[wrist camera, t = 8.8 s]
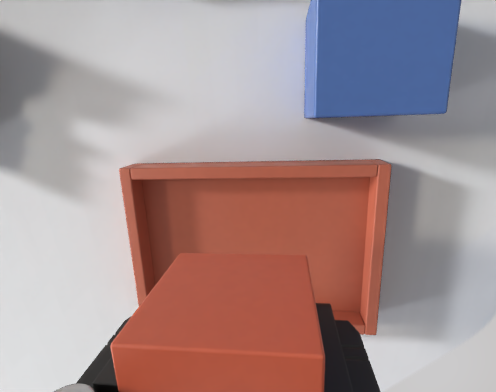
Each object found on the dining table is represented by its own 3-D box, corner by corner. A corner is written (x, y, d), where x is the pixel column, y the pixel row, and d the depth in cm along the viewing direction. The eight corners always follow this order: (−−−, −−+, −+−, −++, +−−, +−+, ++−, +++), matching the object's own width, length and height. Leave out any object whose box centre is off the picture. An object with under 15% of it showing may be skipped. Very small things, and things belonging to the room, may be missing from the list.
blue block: (304, 118, 15) (313, 118, 11) (305, 19, 14) (316, -28, 9) (397, 115, 14) (447, 113, 10) (407, 11, 13) (468, -40, 9)
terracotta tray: (153, 306, 19) (140, 324, 17) (134, 163, 16) (118, 168, 15) (367, 315, 17) (376, 335, 16) (380, 159, 15) (392, 164, 13)
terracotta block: (190, 356, 12) (136, 496, 7) (179, 252, 11) (108, 344, 6) (305, 362, 11) (320, 517, 7) (307, 254, 10) (326, 356, 6)
